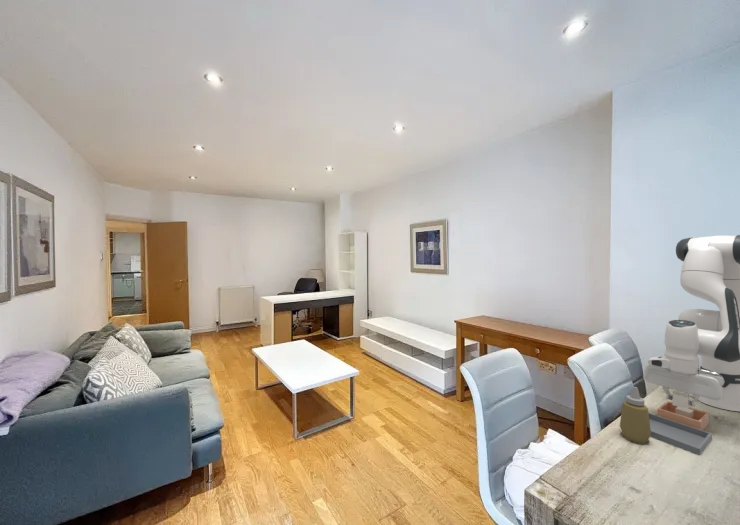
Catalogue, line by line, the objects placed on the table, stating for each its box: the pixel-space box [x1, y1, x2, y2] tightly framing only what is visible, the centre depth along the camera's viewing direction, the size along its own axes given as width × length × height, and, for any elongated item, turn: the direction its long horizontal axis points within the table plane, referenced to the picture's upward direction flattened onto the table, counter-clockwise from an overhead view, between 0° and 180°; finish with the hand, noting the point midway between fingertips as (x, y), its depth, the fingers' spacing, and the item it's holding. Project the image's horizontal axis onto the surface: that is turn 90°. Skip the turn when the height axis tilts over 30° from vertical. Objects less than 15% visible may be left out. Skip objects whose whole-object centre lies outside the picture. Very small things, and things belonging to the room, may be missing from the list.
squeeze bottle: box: [619, 386, 651, 445], centre depth 103 cm, size 8×8×18 cm
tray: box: [649, 412, 713, 456], centre depth 105 cm, size 15×17×3 cm
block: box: [672, 390, 690, 409], centre depth 111 cm, size 4×4×4 cm
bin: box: [657, 400, 710, 431], centre depth 113 cm, size 11×11×5 cm
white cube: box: [675, 407, 694, 419], centre depth 114 cm, size 4×4×4 cm
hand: (680, 402), depth 111 cm, fingers closed on block, 4 cm apart
